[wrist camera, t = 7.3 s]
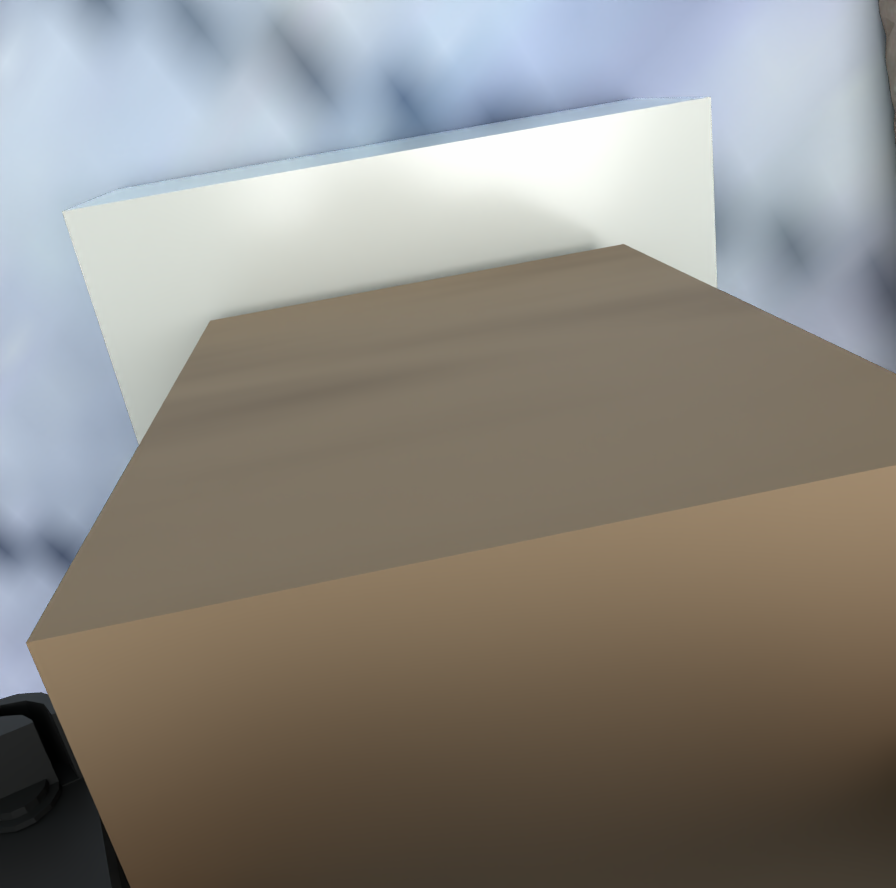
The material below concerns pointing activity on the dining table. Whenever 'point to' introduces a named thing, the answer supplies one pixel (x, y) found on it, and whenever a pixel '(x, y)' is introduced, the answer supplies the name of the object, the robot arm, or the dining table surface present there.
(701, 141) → the stone plinth
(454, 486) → the walnut block
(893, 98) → the brick
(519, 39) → the dining table surface
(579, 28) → the dining table surface
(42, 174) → the dining table surface
